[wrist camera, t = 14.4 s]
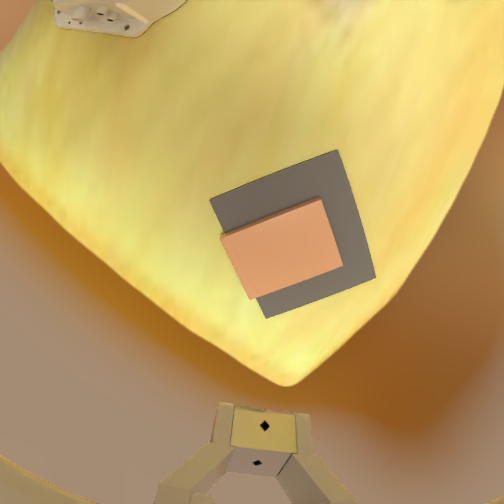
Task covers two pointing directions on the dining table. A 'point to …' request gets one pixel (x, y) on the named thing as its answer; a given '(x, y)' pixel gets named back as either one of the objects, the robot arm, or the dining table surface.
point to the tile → (283, 248)
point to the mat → (291, 194)
